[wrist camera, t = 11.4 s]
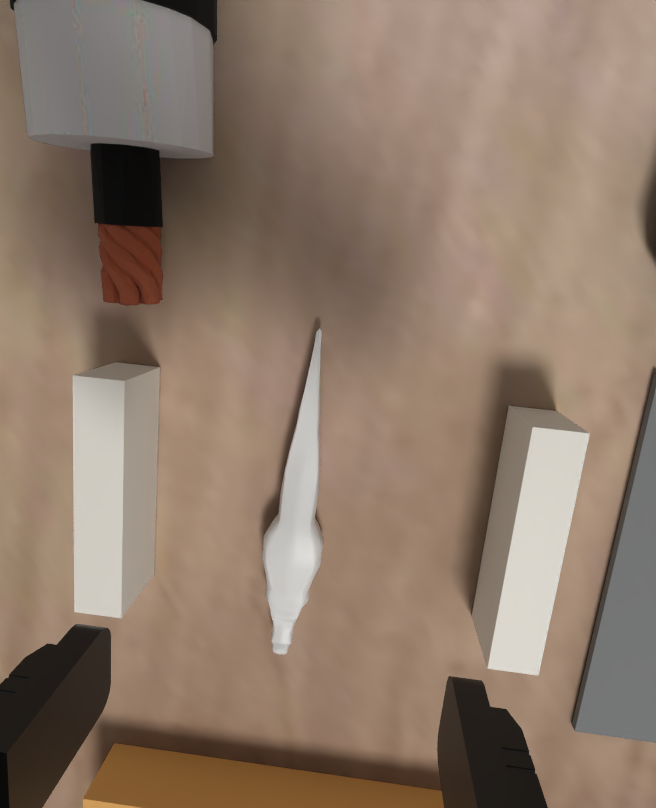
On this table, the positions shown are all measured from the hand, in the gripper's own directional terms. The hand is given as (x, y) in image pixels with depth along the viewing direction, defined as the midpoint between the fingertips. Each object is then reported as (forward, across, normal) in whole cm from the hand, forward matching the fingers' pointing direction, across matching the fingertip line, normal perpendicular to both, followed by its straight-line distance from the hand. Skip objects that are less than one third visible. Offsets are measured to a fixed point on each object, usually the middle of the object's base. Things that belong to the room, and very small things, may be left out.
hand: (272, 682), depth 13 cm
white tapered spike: (+12, +1, 0) cm, 12 cm away
